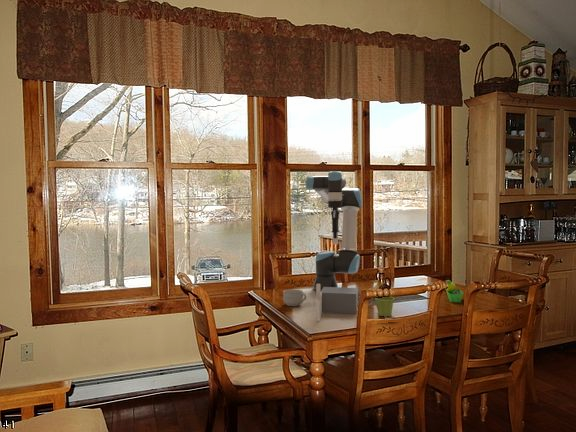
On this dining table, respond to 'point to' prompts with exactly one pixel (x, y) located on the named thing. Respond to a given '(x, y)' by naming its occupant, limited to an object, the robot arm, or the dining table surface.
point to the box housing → (339, 300)
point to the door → (319, 301)
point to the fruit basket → (453, 292)
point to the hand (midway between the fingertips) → (335, 244)
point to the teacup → (293, 297)
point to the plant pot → (385, 306)
